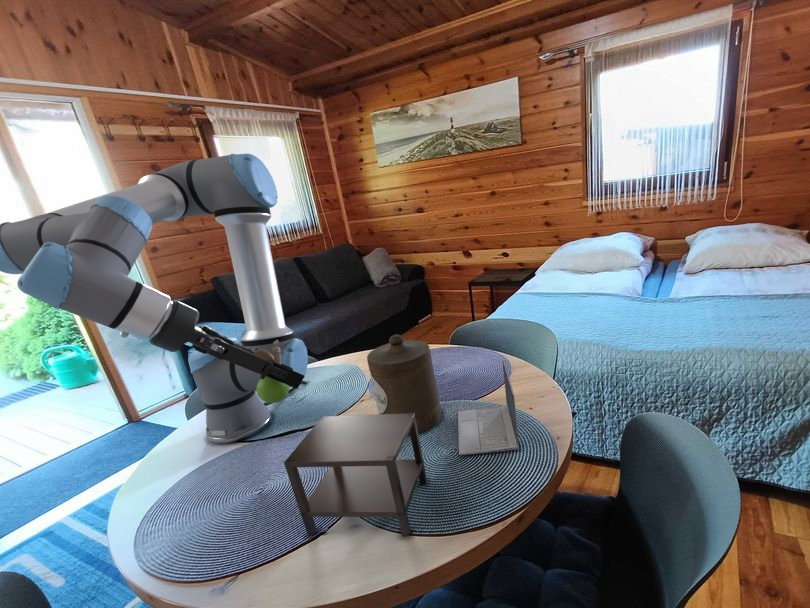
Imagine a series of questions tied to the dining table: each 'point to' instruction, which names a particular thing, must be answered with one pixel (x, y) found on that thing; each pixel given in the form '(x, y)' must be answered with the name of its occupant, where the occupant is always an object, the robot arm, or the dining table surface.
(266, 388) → the snail figurine
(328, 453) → the rack
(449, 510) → the dining table surface
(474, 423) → the laptop
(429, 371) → the wooden container
